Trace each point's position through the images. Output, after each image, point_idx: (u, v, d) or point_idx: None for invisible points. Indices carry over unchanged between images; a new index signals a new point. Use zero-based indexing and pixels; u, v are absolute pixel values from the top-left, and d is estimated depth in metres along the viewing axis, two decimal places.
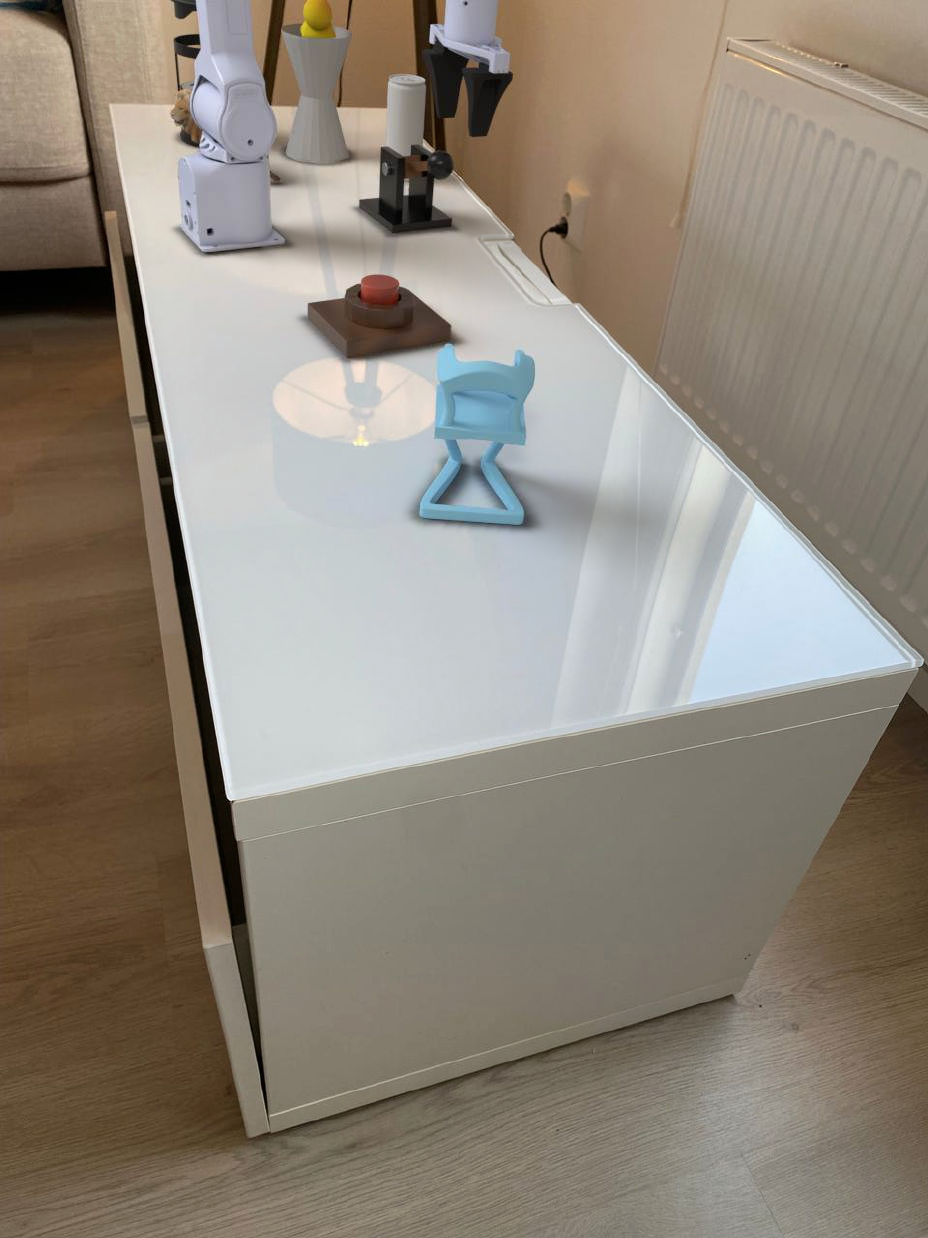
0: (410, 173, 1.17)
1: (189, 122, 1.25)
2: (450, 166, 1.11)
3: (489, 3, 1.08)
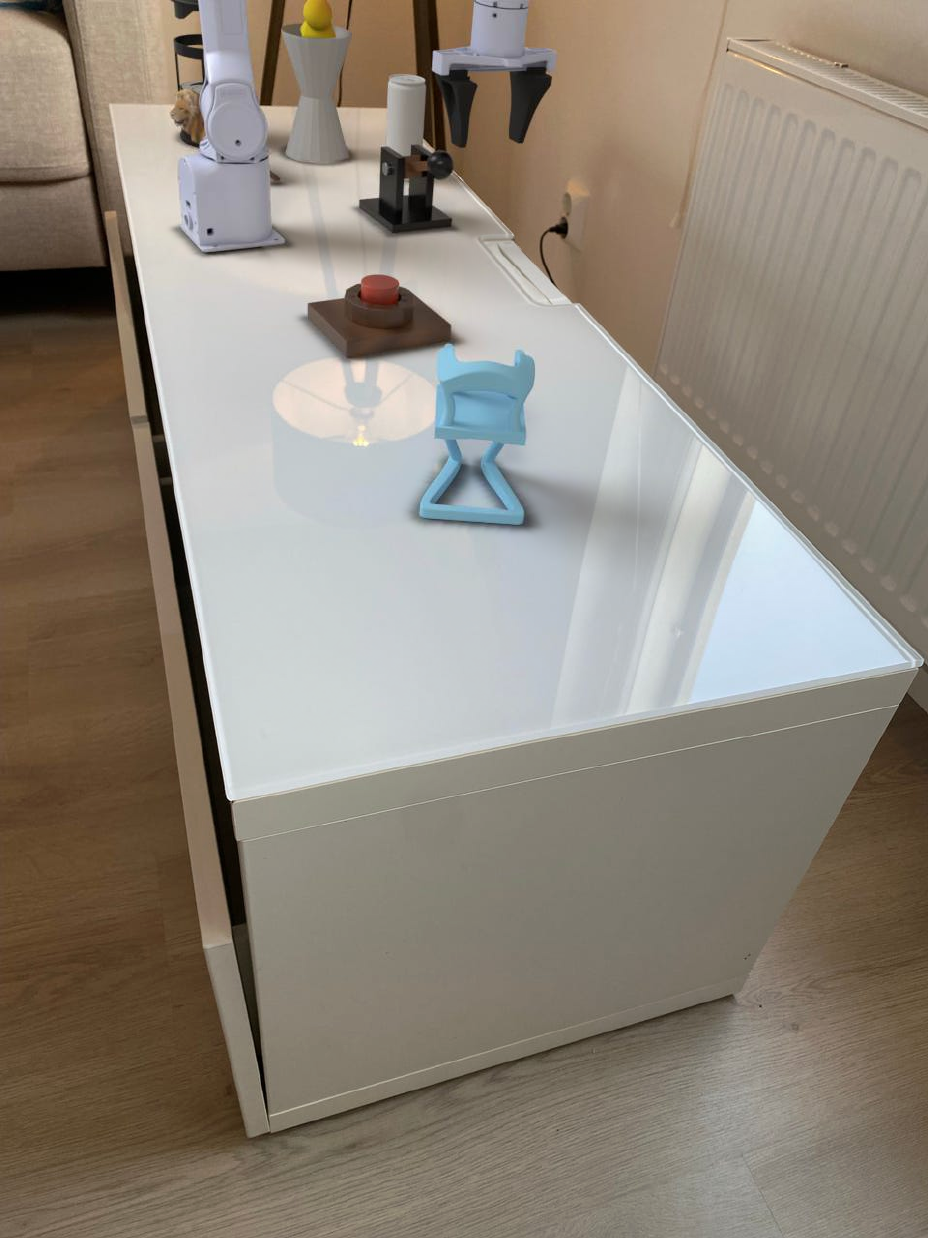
0: (410, 173, 1.17)
1: (189, 122, 1.25)
2: (450, 166, 1.11)
3: (480, 10, 1.03)
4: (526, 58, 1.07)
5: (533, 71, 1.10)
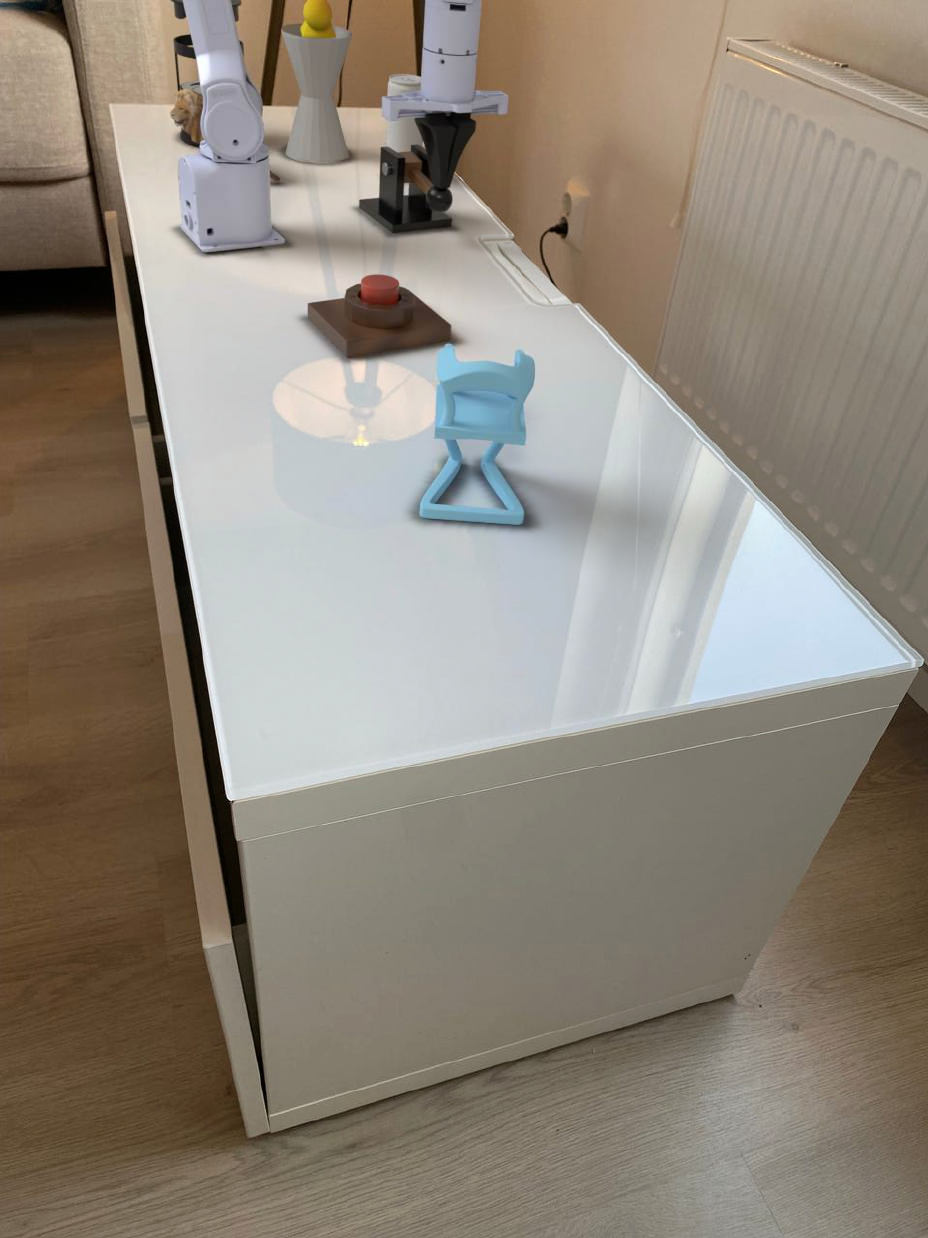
0: (408, 178, 1.18)
1: (189, 122, 1.25)
2: (448, 206, 1.13)
3: (428, 56, 1.03)
4: (476, 103, 1.06)
5: (457, 116, 1.08)
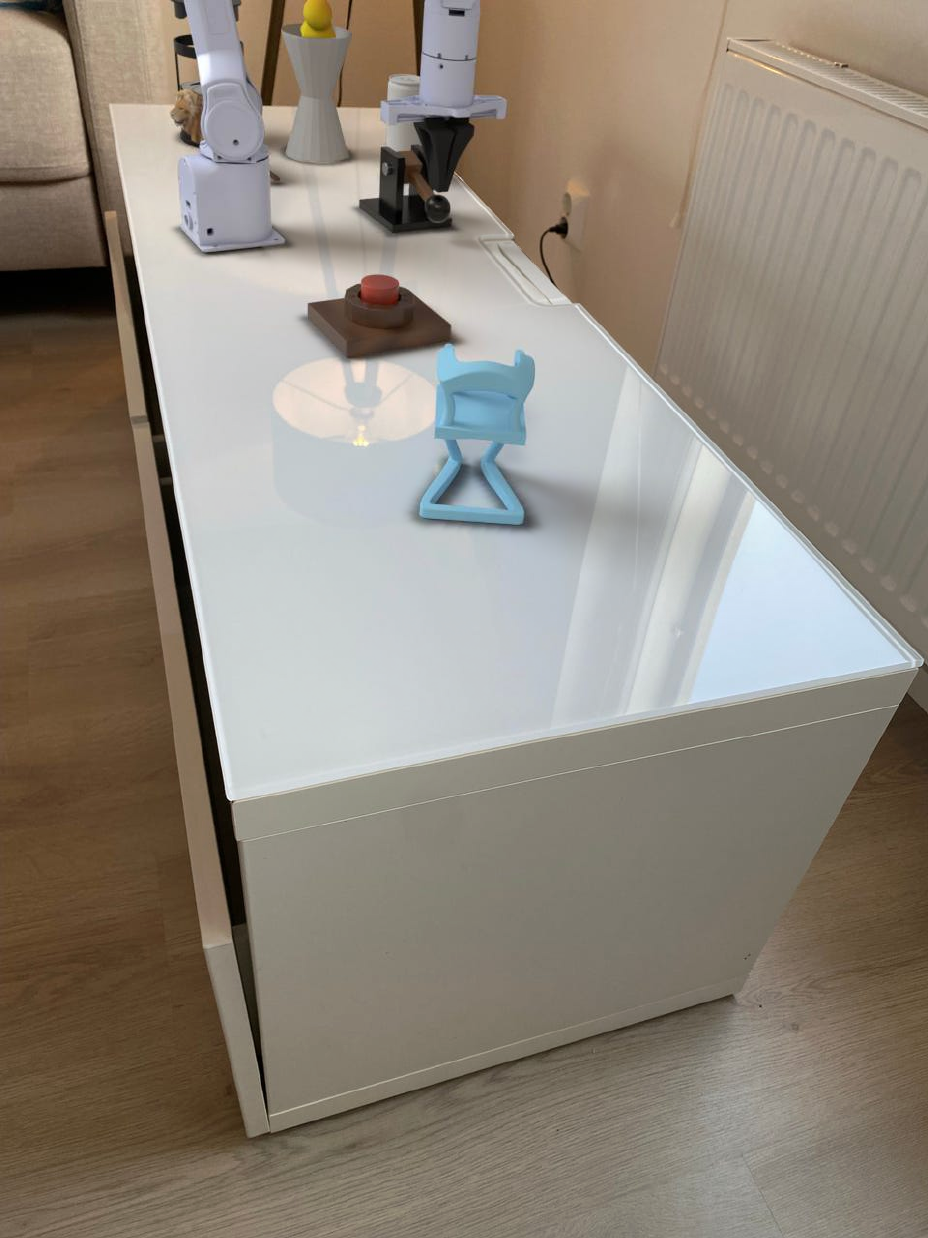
0: (408, 179, 1.18)
1: (189, 122, 1.25)
2: (446, 217, 1.14)
3: (427, 61, 1.03)
4: (475, 107, 1.07)
5: (455, 121, 1.08)
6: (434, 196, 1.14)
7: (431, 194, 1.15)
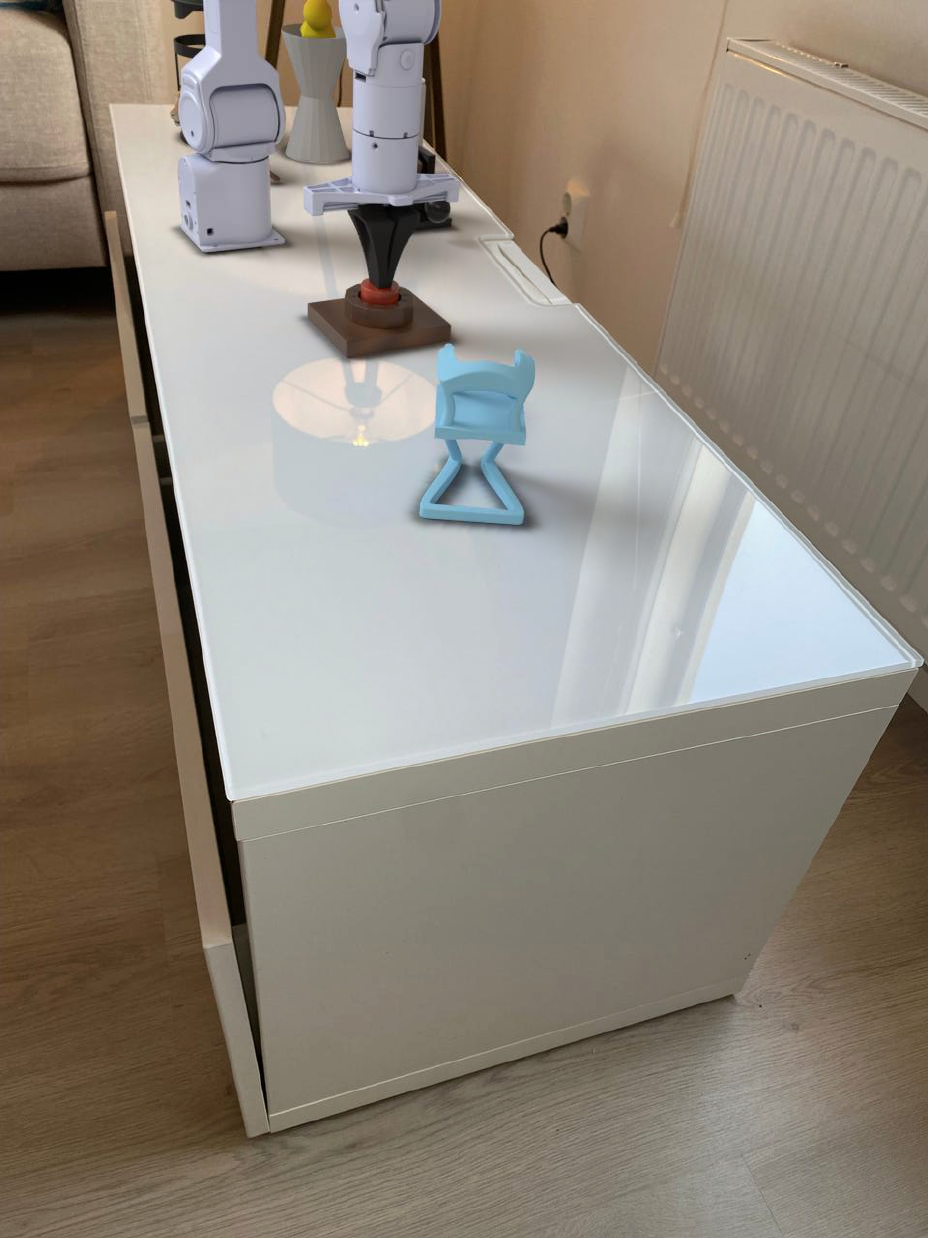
0: None
1: None
2: (446, 217, 1.14)
3: (358, 139, 0.85)
4: (419, 192, 0.88)
5: (397, 207, 0.90)
6: None
7: None
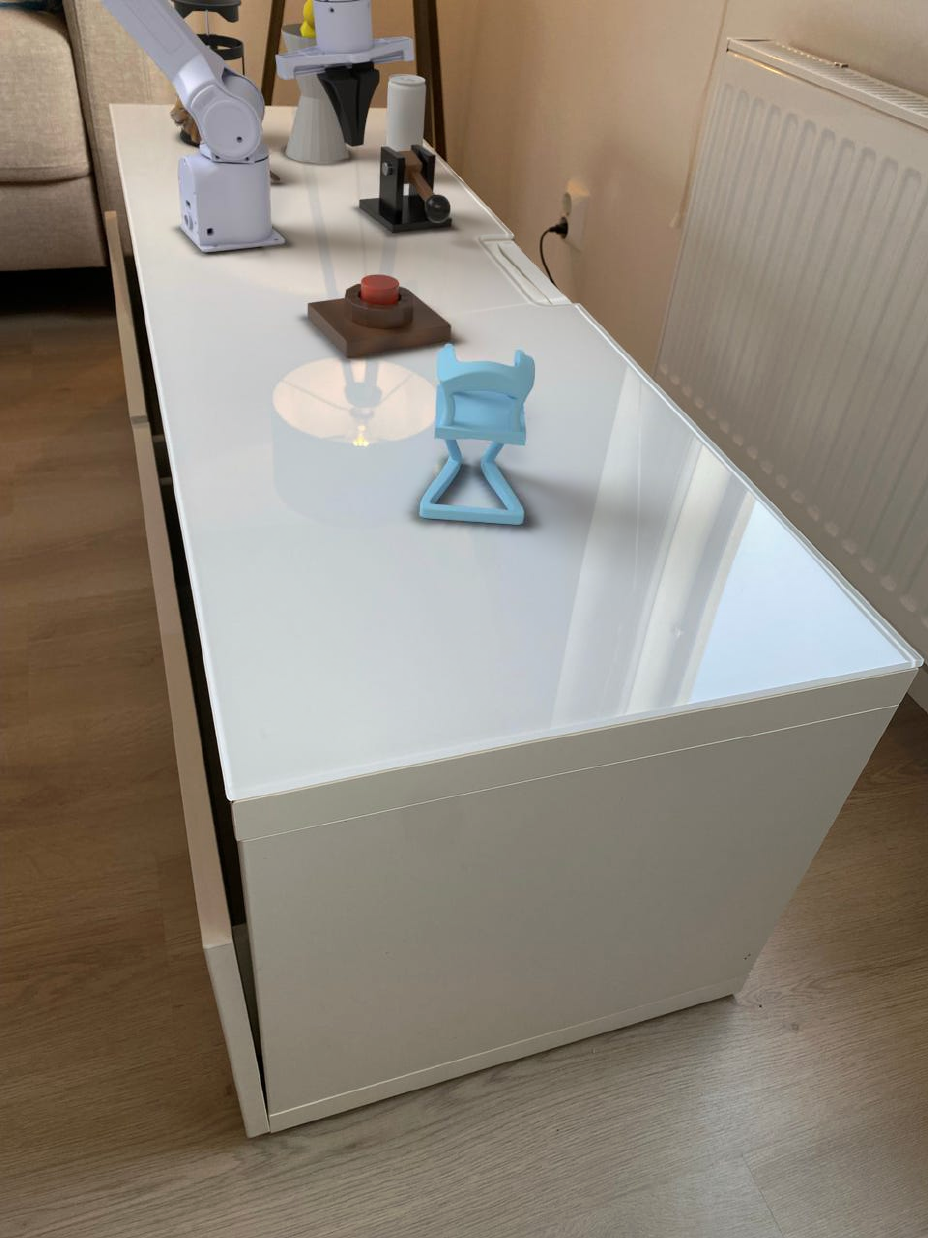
0: (408, 179, 1.18)
1: (189, 122, 1.25)
2: (446, 217, 1.14)
3: (317, 7, 0.98)
4: (376, 51, 1.01)
5: (359, 68, 1.03)
6: (434, 196, 1.14)
7: (431, 194, 1.15)
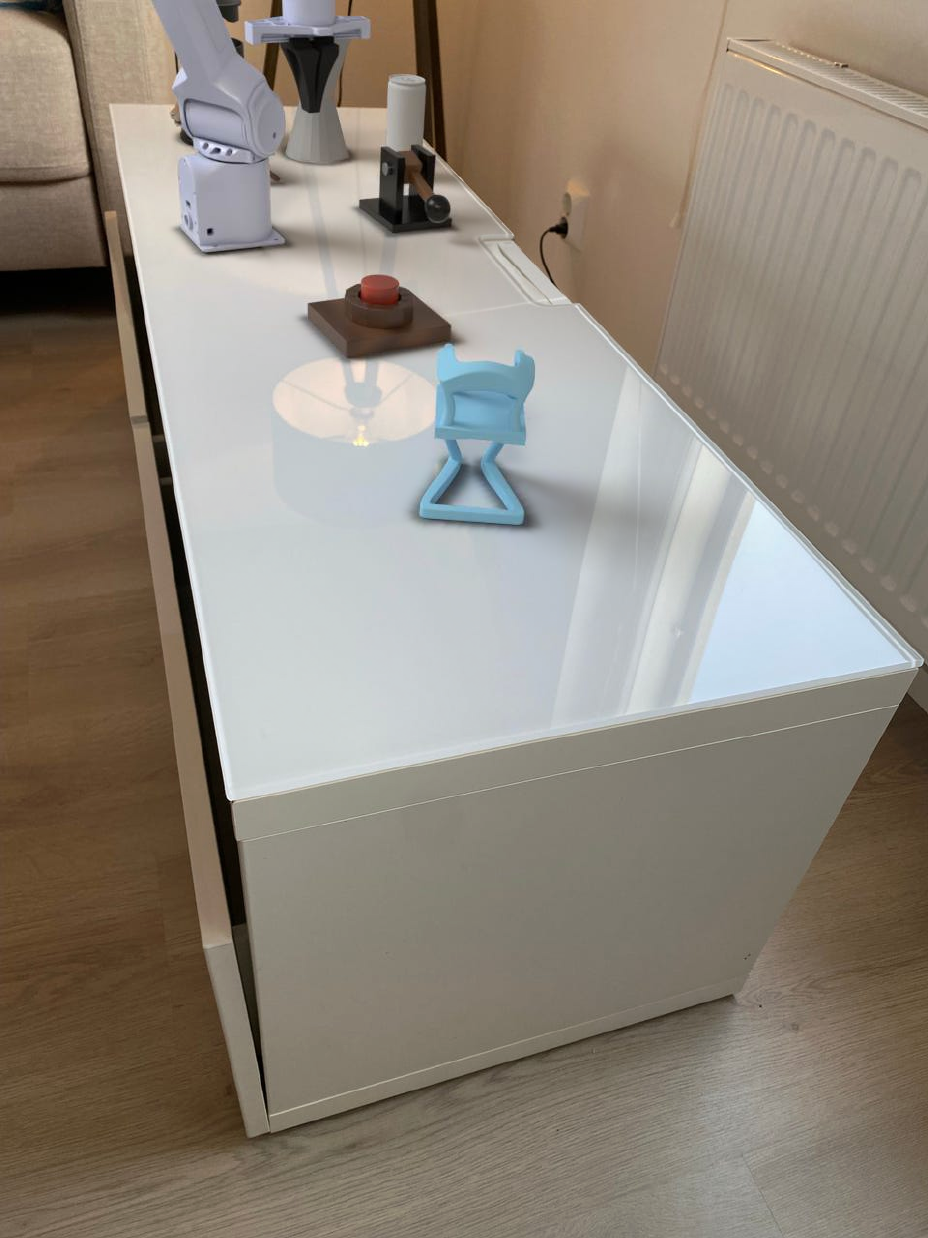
0: (408, 179, 1.18)
1: None
2: (446, 217, 1.14)
3: None
4: (338, 26, 1.10)
5: (320, 40, 1.12)
6: (434, 196, 1.14)
7: (431, 194, 1.15)
